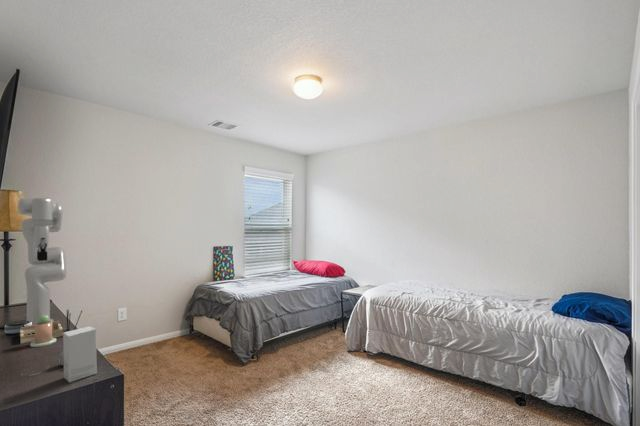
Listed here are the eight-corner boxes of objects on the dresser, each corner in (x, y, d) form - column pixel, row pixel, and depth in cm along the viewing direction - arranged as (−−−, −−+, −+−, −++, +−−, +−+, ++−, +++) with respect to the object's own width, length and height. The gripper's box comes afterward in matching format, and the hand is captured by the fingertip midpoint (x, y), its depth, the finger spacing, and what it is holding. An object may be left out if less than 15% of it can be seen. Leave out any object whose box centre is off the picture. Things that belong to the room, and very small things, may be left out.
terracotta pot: (34, 341, 149) (34, 315, 149) (51, 337, 153) (51, 312, 153) (34, 344, 144) (35, 317, 145) (52, 341, 148) (52, 315, 149)
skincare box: (91, 369, 119) (91, 325, 120) (97, 374, 115) (97, 328, 116) (62, 378, 113) (62, 331, 113) (68, 383, 109) (68, 335, 109)
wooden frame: (20, 335, 160) (20, 327, 160) (59, 328, 170) (59, 320, 171) (20, 344, 148) (20, 334, 149) (63, 335, 159) (63, 327, 159)
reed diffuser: (57, 363, 126) (58, 309, 127) (80, 357, 131) (80, 306, 131) (60, 371, 118) (60, 314, 119) (84, 365, 123) (84, 310, 124)
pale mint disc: (29, 343, 149) (29, 341, 149) (55, 338, 155) (55, 336, 155) (30, 348, 142) (30, 346, 142) (57, 343, 148) (57, 341, 148)
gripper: (31, 224, 163) (30, 259, 162) (32, 223, 150) (32, 261, 150) (50, 224, 168) (50, 258, 167) (53, 223, 155) (53, 260, 155)
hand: (42, 259), depth 158 cm, fingers open, 9 cm apart
